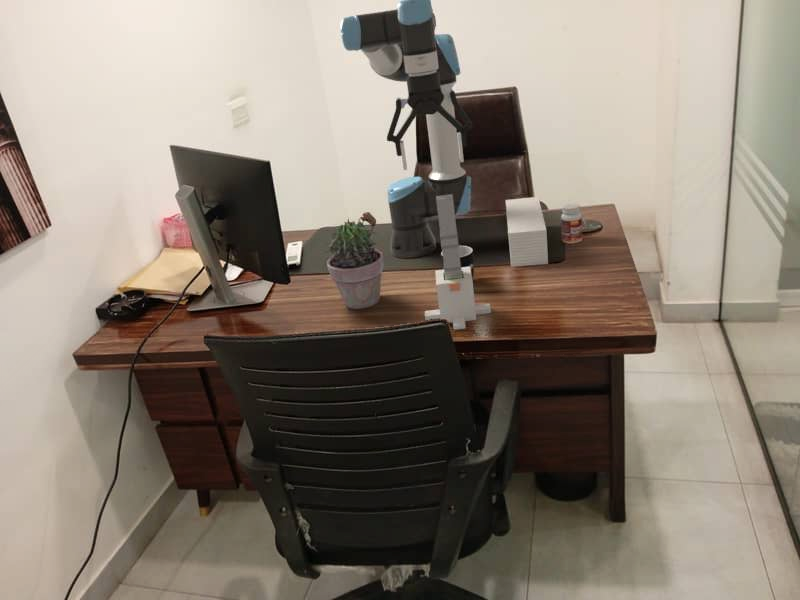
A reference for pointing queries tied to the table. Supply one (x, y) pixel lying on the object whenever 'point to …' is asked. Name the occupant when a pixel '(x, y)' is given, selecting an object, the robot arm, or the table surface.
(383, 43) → the robot arm
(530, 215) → the stack of papers
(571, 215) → the pill bottle
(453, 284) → the housing
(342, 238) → the potted plant
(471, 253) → the mug
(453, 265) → the post
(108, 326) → the table surface
